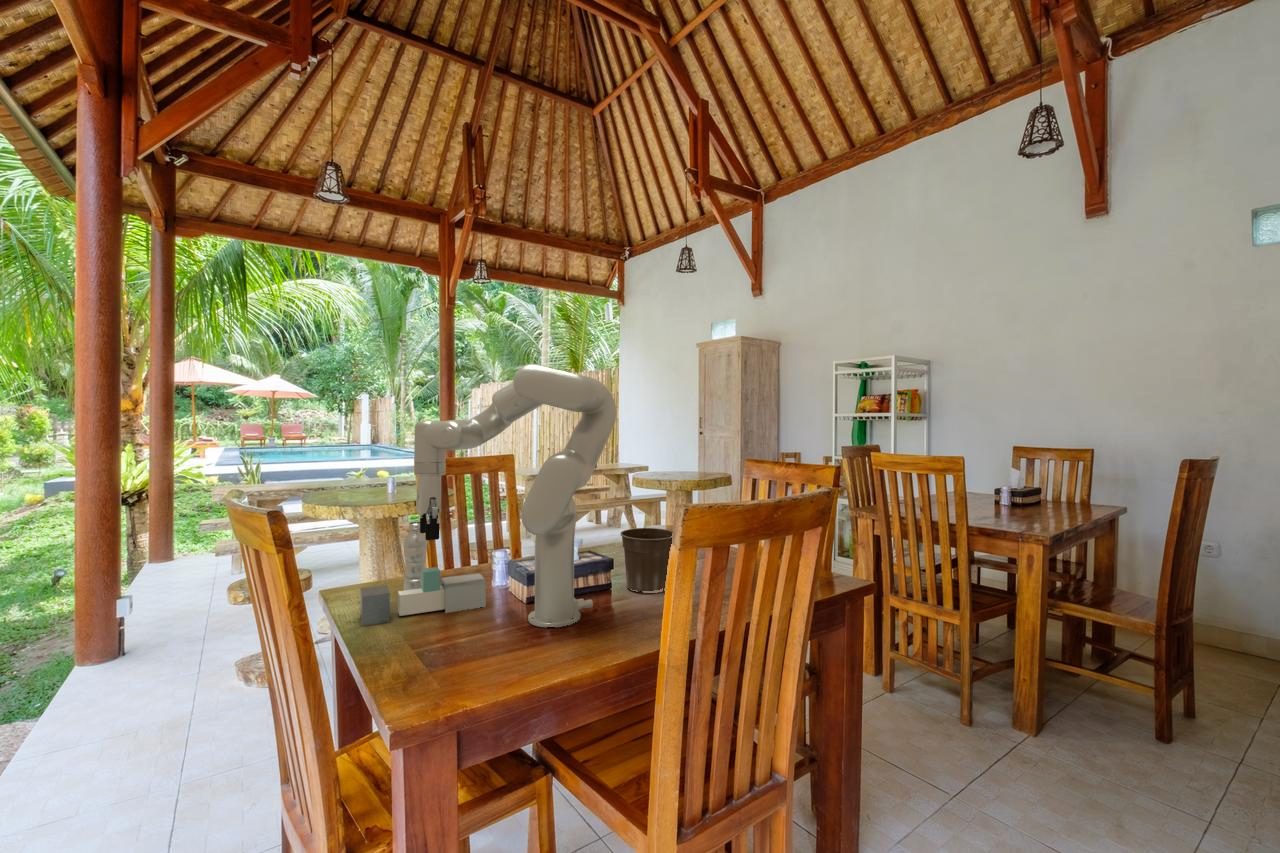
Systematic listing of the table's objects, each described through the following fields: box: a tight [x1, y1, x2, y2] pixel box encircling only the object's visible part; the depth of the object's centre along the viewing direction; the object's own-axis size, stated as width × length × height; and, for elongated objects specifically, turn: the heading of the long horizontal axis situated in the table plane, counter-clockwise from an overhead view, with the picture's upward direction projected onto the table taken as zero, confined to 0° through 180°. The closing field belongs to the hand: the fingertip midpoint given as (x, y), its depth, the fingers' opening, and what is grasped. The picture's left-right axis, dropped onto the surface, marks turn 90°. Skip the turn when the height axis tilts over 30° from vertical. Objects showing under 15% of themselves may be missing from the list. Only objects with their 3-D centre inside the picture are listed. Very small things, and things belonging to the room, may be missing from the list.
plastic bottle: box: [403, 521, 429, 591], centre depth 160 cm, size 6×7×20 cm
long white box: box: [397, 566, 445, 617], centre depth 147 cm, size 20×4×10 cm, turn 118°
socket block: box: [359, 584, 391, 627], centre depth 140 cm, size 6×8×7 cm
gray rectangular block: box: [440, 572, 487, 614], centre depth 150 cm, size 10×7×7 cm
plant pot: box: [620, 527, 674, 593], centre depth 166 cm, size 16×16×16 cm
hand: (429, 536), depth 146 cm, fingers open, 9 cm apart
